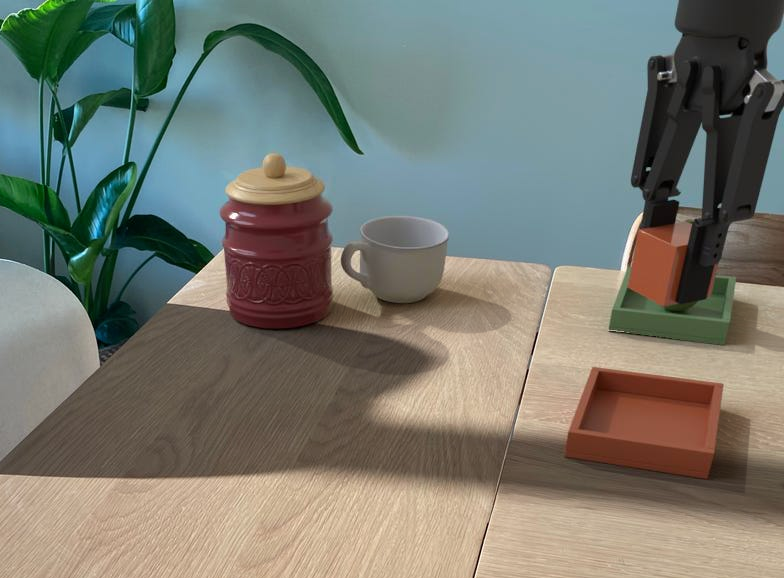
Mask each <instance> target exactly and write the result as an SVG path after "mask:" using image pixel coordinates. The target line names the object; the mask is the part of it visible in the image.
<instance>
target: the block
mask: <svg viewBox="0 0 784 578" xmlns="http://www.w3.org/2000/svg"><path fill="white" fill-rule="evenodd" d="M684 221H685V220H684ZM691 227H692V224H691V223H688V222H686V221H685V222H683V221H680V222H675V223H674V224H668V225H663V226H657V227H651V228H645V229H640V228H639V229H638V231H637V236H636V240H635V245H634V252H633V256H632V262H631V266H630V267H631V272H630V277H629V283H628V288H629V289H631V290H633V291H635V292H637V293H639V294H641V295H643V296H645V297H647V298H648V299H650V300H652V301H654V302H656V303H658V304H660V305H662V306H669V305H674V304H678V303H677V302H675V299H676V295H677V290H678V286H679V281H680V277H681V273H682V268H683V264H684V259H685V255H686V250H687V246H688V240H689V236H690V231H691ZM719 264H720V262H719V263H718V264H715V265H714V270H713V274H712V278H711V282H710V286H709V290H708V294H707V298H708V297H711V293H712V289H713V285H714V281H715V277H716V275H717V272H718V269H719Z"/></svg>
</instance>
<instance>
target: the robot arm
mask: <svg viewBox="0 0 784 578" xmlns="http://www.w3.org/2000/svg"><path fill="white" fill-rule="evenodd" d="M783 18H784V0H678V2H677V7H676V12H675V18H674V27H675V29H676V30H677V31H678V32H679V33H681V37H680V40H679V42H678V44H677V45H676V47H675V50H674V52H671V53H669V54H659V55H652V56H650V57H649V59H648V61H647V65H646V66H647V67H646V68H647V69H646V71H647V76H646V77H647V91H646V96H645V100H644V101H645V102H644V107H643V113H642V116H641V117H642V118H641V123H640V128H639V132H638V139H637V145H636V148H635V154H634V159H633V164H632V166H633V167H632V171H631V176H630V185H631V187H633V188H634V189H637V188H638V189H639V190H640V191H641V192H642V195H641V196H642V199H643V200H644V206H643V211H642V216H641V221H640V227H639V230H640V229H645V228H651V227H657V226H663V225H668V224H674V223H676V221H677V216H678V211H679V206H680V203H681V201H678V200H676V199H669V198H674V197H679V196H680V195H681V193H682V191H680V190H679V189H678V188H677V187H678V184H679V182H680V179H681V176H682V174H683V171H684V169H685V167H686V164H687V161H688V158H689V156H690V154H691V151H692V148H693V147H694V144H695V141H696V138H697V136H698V133H699V131H700V129H701V128H702V130H703V131H704V132H705V133H706V134H705V135H706V137H705V153H704V169H703V170H704V171H703V186H702V201H701V203H702V205H701V217H698V218H694V219H693V220H694V222H692V227H691V231H690V236H689V240H688V246H687V250H686V255H685V259H684V264H683V268H682V273H681V277H680V281H679V286H678V290H677V295H676V299H675V302H677V303H679V304H685V303H690V302H695V301H700V300H705V299H706V298H707V294H708V290H709V286H710V282H711V278H712V274H713V270H714V265H715V264H718V263H719V264H720V262H721V260H722V256H723V251H724V248H725V243H726V240H727V236H728V231H729V228H730V226H731V225H732V223H735V222H742V221H746V220H748V221H749V220H751V219H753V217H754V216H755V213H756V209H757V206H758V205H757V204H758V201H759V197H760V193H761V189H762V185H763V181H764V177H765V173H766V169H767V165H768V161H769V157H770V154H771V150H772V146H773V141H774V138H775V133H776V130H777V125H778V122H779V118H780V115H781V113H782V111H783V110H784V79H777V78H776V77H775V76H774V75H772V73H770V72H769V71H768V70H767V69H768V54H767V53H768V44H769V42H770V39H771V38H772V36H773V35H774V34H775V33H777V32H778V31H779V30H780V28H781V26H782V23H783ZM726 115H727V116H726ZM721 116H726V117H721ZM649 168H650V169H649ZM647 169H648V170H647ZM719 206H720V207H719Z"/></svg>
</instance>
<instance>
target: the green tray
mask: <svg viewBox="0 0 784 578" xmlns="http://www.w3.org/2000/svg"><path fill="white" fill-rule="evenodd" d="M631 267H632V266H628V267H627V268H626V271H625V274H624V277H623V280H622V282H621V284H620V287H619V290H618V292H617V295H616V298H615V300H614V303H613V306H612V308H611V313H610V319H609V325H608V329H609V330H617V331H624V332H629V333H635V334H642V335H641V336H643V335H649V336H648V337H651V336H656V337H655V338H660V337H666V338H665V339H668V338H672V339H671V340H677V339H679V340H680V341H686V342H694V343H703V344H710V345H711V344H713V345H720V346H721V345H722V346H725V344H726V339H727V336H728V332H729V328H730V324H731V319H732V312H733V304H734V296H735V290H736V283H737V276H730V275H729V276H728V275H718V274H716V277H715V281H714V285H713V289H712V293H711V297H708V298H706V299H705V300H700V301H698V302H697V303H696V304H695V305H694V306H692V307H691V308H689V309H686V310H683V311H671V310H668V309H665V308H664V307H662V306H661V305H660V304H658V303H656V302H654V301H652V300H650V299H648V298H647V297H645V296H643V295H641V294H639V293H637V292H635V291H633V290H631V289H629V288H628V283H629V277H630V272H631ZM657 336H659V337H657ZM679 340H678V341H679Z"/></svg>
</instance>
